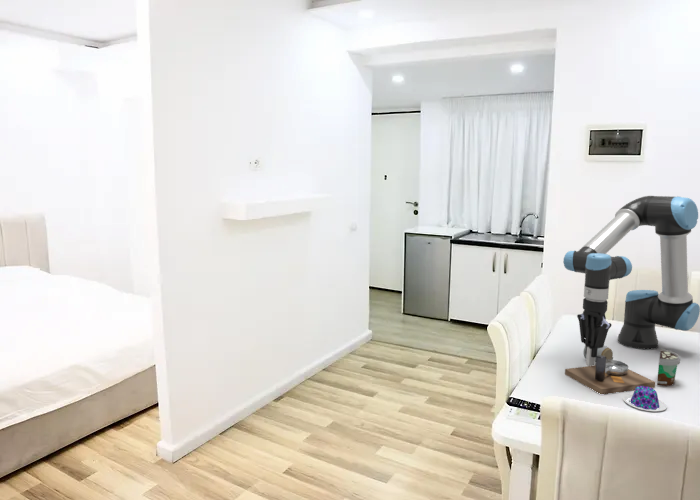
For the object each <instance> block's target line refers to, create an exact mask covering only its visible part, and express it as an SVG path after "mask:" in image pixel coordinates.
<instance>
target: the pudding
mask: <svg viewBox="0 0 700 500" xmlns="http://www.w3.org/2000/svg"><path fill="white" fill-rule="evenodd" d="M633 391H634V392H632V393H633V394H627V395H625V396H623V402H625V403H626V404H628V406H630V407H634V408H636V409H639V410H642V411H647V412H663V411H665V410H666V409H667V408H668V406H667V404H666V403H665V402H664V401H663V400H660V399H659V397H658V392H657V391H656V390H655V388H650V387H645V386H637V387H636V388H635V390H633ZM628 398H631V400H630V402H631V403H628V402H627V401H626V400H627V399H628Z"/></svg>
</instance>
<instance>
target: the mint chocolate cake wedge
mask: <svg viewBox="0 0 700 500" xmlns="http://www.w3.org/2000/svg"><path fill="white" fill-rule="evenodd" d="M680 364H681V360H680V356H679V354H678V353H677V352H674V351H671V350H669V349H668V350H667V349H664V348H660V349H659V360H658V370H657V378H656V379H657V381H656V385H657V386H660V387H661V386H662V387H671V386H674V385H675V379H676V374H677V369H678V365H680Z"/></svg>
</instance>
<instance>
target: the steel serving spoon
mask: <svg viewBox="0 0 700 500" xmlns="http://www.w3.org/2000/svg"><path fill="white" fill-rule="evenodd" d="M595 365H596V370H595V379H596V380H599V381H604V380H605V378H606V377H607V376H608V375H610V374H612V375H625V374H627V373H628V369H629V365H628V364H626V363H625V362H623V361H619V360H616V359H613V360H611V359H606V357H605V356H602V355H597V357H596V362H595Z"/></svg>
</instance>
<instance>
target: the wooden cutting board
mask: <svg viewBox="0 0 700 500" xmlns="http://www.w3.org/2000/svg"><path fill="white" fill-rule="evenodd" d="M595 370H596V364H595V365H593V366H587V365H585V366H578V367H571V368H570V367H569V368H565V369H564V375H565V376H567V377H569V378H571V379H573V380H574V381H576V382H578V383H579V384H582V385H583V386H585V387H586V386H587V387H586V388H588V387H589V388H588V389H590V388H591V389H590V390H592V389H593V390H594V392H595V391H596V392H595V393H597V392H598V393H597V394H599V393H600V394H604V395H609V394H608V393H612V394H617V393H616V392H619V393H625V392H624V391H626V392H632V391H635V388H636V387H637V386H645V387H650V388H653V389H655V388H656V381H654V380H652V379H650V378H648V377H646V376H644V375H641V374H640V373H637V372H636V371H633V370H632V369H629V368H628V373H627V374H625V375H612V374H610V375H608V376H607V377H606V378H605V380H604V381H599V380H596V379H595ZM593 390H592V391H593ZM600 394H599V395H600Z"/></svg>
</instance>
